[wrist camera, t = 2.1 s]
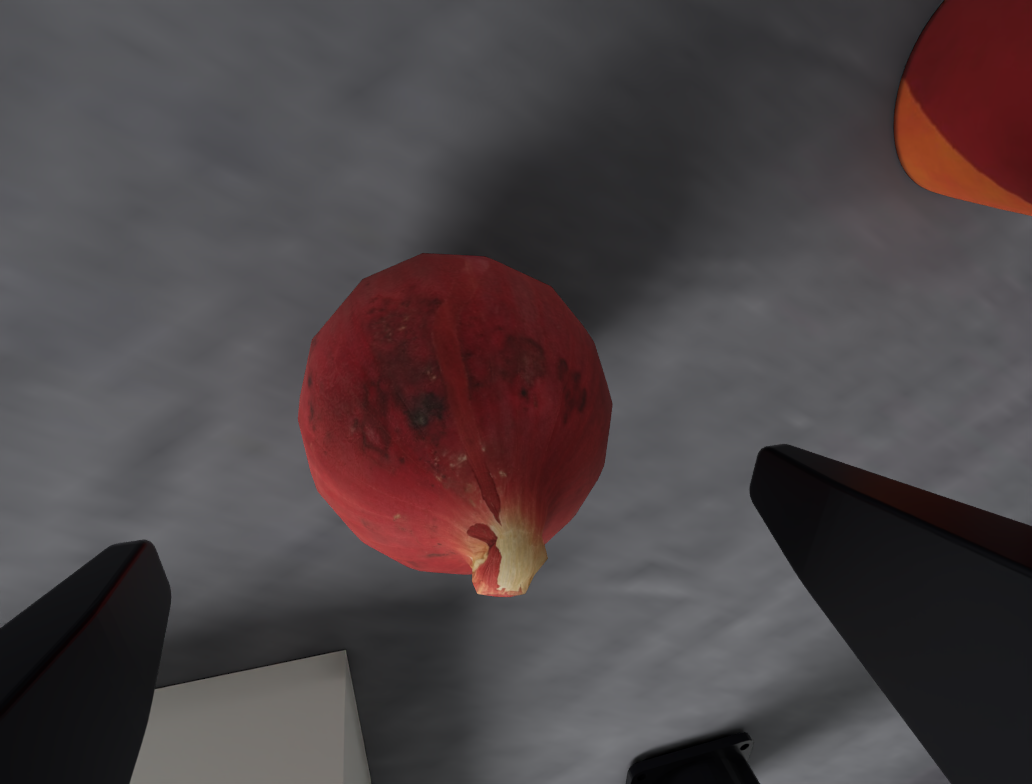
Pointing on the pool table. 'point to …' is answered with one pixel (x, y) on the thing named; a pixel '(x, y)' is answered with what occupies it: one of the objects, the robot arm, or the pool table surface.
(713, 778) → the robot arm
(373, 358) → the onion
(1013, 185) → the paper cup
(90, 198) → the pool table surface
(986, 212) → the pool table surface
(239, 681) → the bin
